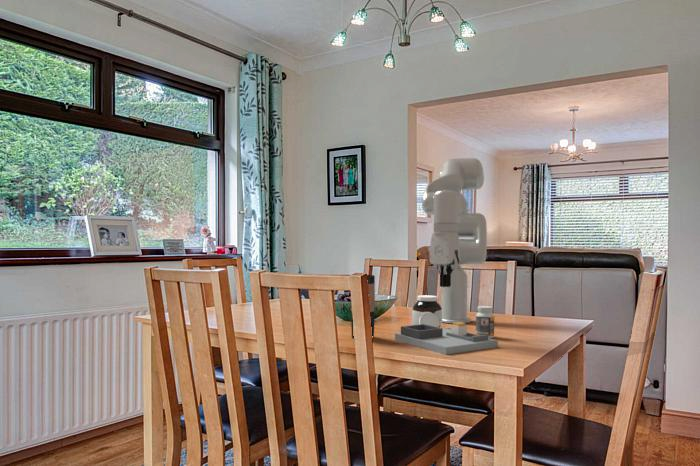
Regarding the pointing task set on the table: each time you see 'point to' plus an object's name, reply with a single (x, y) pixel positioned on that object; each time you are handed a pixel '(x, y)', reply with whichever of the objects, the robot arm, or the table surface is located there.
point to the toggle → (459, 329)
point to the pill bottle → (485, 321)
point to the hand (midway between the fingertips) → (445, 286)
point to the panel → (443, 339)
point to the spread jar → (427, 311)
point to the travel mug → (371, 301)
